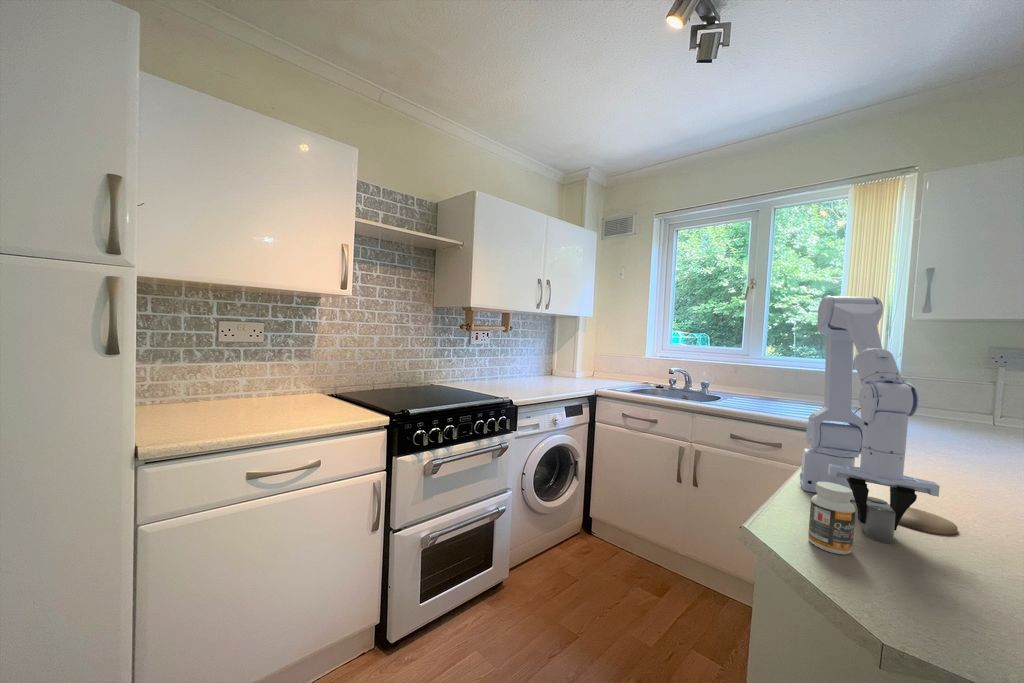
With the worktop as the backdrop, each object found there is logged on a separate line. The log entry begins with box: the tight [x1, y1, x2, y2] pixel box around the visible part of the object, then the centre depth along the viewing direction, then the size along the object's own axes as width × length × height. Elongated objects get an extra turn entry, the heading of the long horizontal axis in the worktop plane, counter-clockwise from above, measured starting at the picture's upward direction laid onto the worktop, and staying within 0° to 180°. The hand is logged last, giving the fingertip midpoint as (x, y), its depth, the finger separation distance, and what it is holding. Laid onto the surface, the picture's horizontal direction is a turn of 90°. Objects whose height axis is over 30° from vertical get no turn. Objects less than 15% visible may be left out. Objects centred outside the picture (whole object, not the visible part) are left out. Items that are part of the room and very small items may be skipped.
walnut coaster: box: [888, 503, 958, 536], centre depth 79 cm, size 11×11×1 cm
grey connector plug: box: [859, 496, 896, 544], centre depth 74 cm, size 11×4×5 cm, turn 148°
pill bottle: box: [807, 482, 856, 555], centre depth 66 cm, size 6×6×10 cm
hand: (876, 524), depth 73 cm, fingers closed on grey connector plug, 3 cm apart
